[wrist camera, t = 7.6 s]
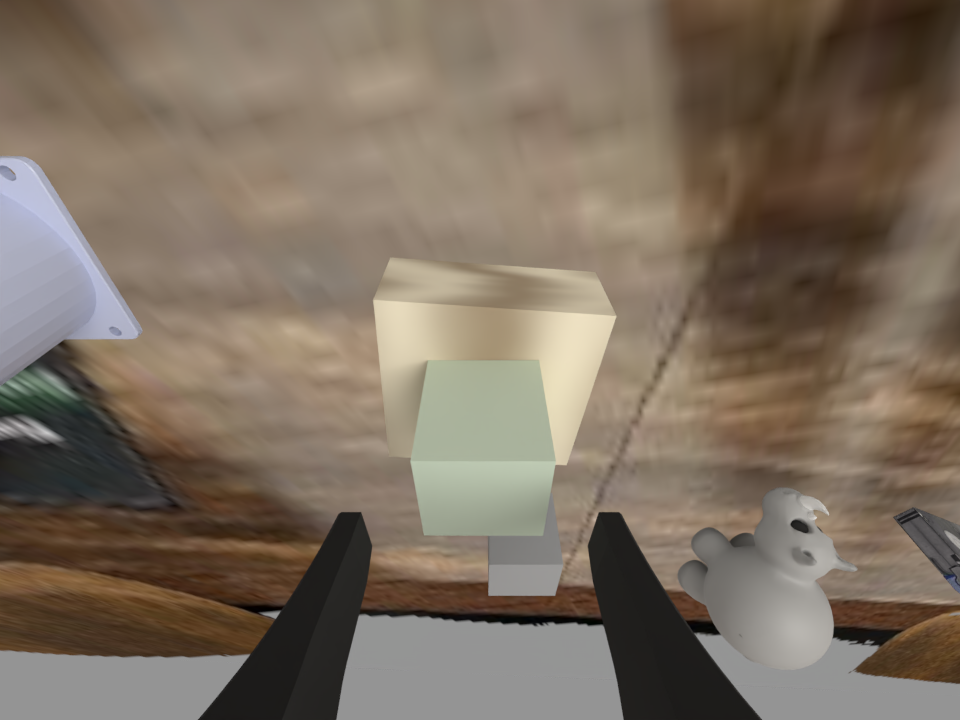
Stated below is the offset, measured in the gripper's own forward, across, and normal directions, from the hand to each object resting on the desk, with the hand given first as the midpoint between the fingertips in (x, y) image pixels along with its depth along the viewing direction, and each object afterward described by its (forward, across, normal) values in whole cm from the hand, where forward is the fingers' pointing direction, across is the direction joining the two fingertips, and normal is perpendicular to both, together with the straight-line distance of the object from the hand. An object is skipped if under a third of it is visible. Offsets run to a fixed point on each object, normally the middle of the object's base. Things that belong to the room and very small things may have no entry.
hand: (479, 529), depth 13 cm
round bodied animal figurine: (+10, +20, -17) cm, 28 cm away
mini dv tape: (+10, +35, -17) cm, 40 cm away
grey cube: (+10, +3, -15) cm, 19 cm away
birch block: (+10, 0, 0) cm, 10 cm away
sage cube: (+6, 0, -1) cm, 6 cm away
